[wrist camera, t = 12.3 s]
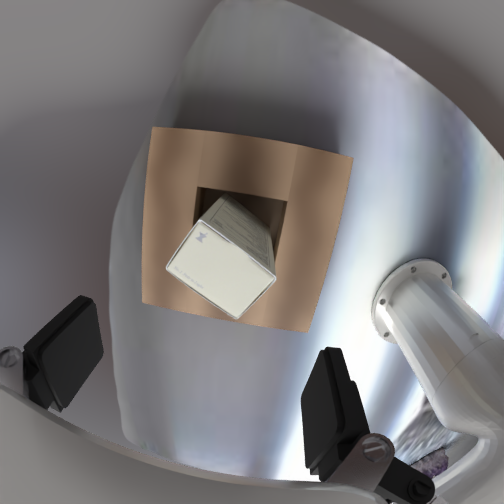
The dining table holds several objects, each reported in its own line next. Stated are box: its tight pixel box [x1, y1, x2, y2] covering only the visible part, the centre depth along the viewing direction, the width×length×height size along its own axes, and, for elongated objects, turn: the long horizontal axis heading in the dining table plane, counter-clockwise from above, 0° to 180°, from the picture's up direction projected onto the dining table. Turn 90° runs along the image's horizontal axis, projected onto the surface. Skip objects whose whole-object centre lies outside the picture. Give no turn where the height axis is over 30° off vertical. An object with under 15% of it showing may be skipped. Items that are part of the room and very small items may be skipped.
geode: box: [411, 447, 448, 479], centre depth 47 cm, size 20×12×10 cm, turn 148°
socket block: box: [142, 127, 353, 333], centre depth 27 cm, size 18×18×5 cm
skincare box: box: [166, 193, 277, 319], centre depth 23 cm, size 6×4×12 cm
